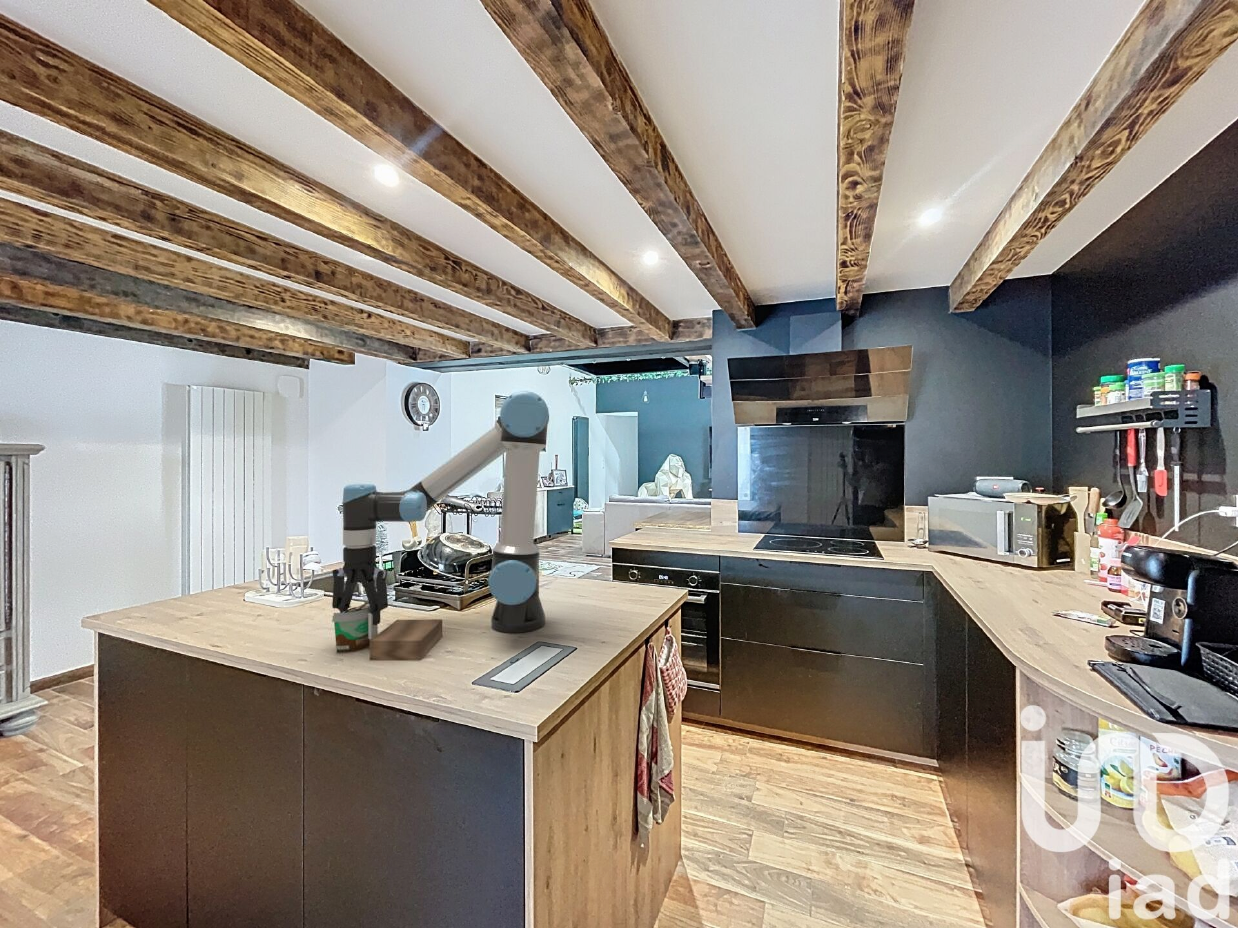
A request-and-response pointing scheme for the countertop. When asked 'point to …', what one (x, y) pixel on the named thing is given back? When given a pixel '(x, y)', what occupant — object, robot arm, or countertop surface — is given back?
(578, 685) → the countertop surface
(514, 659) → the countertop surface
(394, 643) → the walnut box
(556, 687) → the countertop surface
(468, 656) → the countertop surface
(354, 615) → the food container
